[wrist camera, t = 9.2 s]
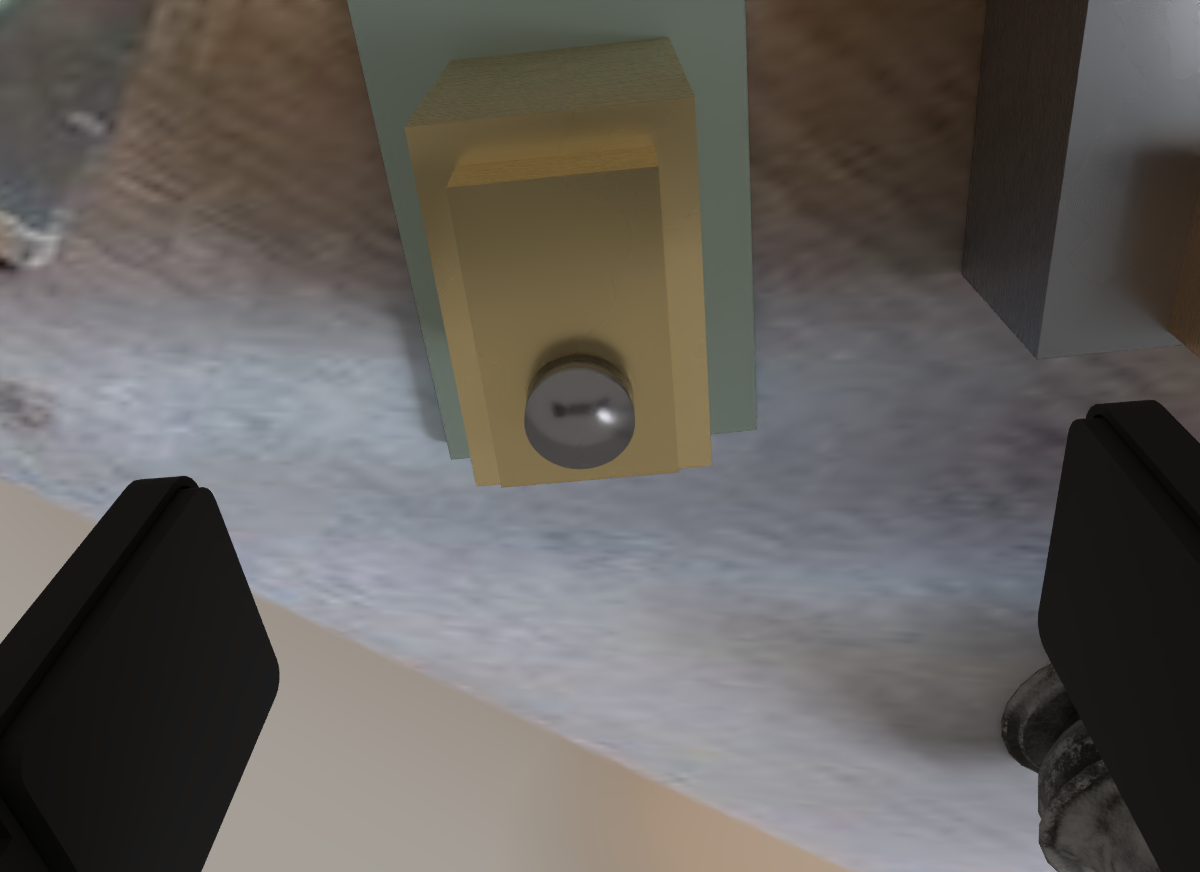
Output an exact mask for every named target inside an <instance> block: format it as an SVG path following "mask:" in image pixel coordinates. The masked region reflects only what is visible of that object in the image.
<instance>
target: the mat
mask: <svg viewBox="0 0 1200 872" xmlns="http://www.w3.org/2000/svg"><path fill="white" fill-rule="evenodd" d="M347 4H348V8H349V12H350V17H351V21H352V26H353V30H354V34H355V39H356V43H357V48H358V52H359V56H360V61H361V65H362V70H363V74H364V78H365V83H366V87H367V92H368V96H369V100H370V105H371V109H372V114H373V118H374V123H375V127H376V131H377V136H378V140H379V145H380V149H381V153H382V158H383V162H384V167H385V171H386V175H387V180H388V184H389V189H390V193H391V197H392V202H393V206H394V211H395V215H396V219H397V224H398V228H399V233H400V237H401V242H402V246H403V250H404V255H405V259H406V264H407V268H408V272H409V277H410V281H411V286H412V290H413V294H414V299H415V303H416V308H417V312H418V316H419V321H420V325H421V330H422V334H423V338H424V343H425V347H426V352H427V356H428V360H429V365H430V369H431V374H432V378H433V383H434V387H435V391H436V396H437V400H438V405H439V409H440V413H441V418H442V422H443V427H444V431H445V435H446V440H447V444H448V449H449V453H450V457H451V460H452V459H462V458H471V456H470V451H469V446H468V441H467V437H466V432H465V427H464V422H463V417H462V412H461V407H460V402H459V397H458V392H457V387H456V382H455V377H454V372H453V367H452V362H451V357H450V352H449V347H448V342H447V337H446V332H445V327H444V322H443V317H442V312H441V307H440V302H439V298H438V293H437V288H436V283H435V278H434V273H433V268H432V263H431V258H430V253H429V248H428V243H427V238H426V233H425V228H424V223H423V218H422V213H421V208H420V203H419V198H418V193H417V188H416V183H415V178H414V173H413V168H412V163H411V159H410V154H409V149H408V144H407V139H406V134H405V129H404V127H405V126H406V124H407V123H408V121H409V120H410V118H411V117H412V115H413V114H414V112H415V111H416V109H417V108H418V106H419V105H420V104H421V102H422V101H423V99H424V98H425V96H426V95H427V93H428V92H429V90H430V89H431V87H432V86H433V84H434V83H435V82H436V80H437V79H438V77H439V76H440V74H441V73H442V71H443V70H444V68H445V67H446V65H447V64H448V62H449V61H450V60H458V59H467V58H477V57H486V56H495V55H505V54H514V53H523V52H533V51H542V50H551V49H561V48H570V47H579V46H589V45H598V44H607V43H617V42H626V41H635V40H645V39H654V38H663V37H669V38H670V40H671V42H672V45H673V47H674V49H675V52H676V54H677V56H678V59H679V61H680V63H681V66H682V68H683V70H684V72H685V75H686V77H687V79H688V82H689V84H690V86H691V89H692V91H693V93H694V96H695V105H696V127H697V149H698V172H699V194H700V216H701V238H702V260H703V282H704V305H705V327H706V349H707V371H708V393H709V415H710V434H719V433H729V432H740V431H750V430H757V416H756V379H755V343H754V306H753V270H752V234H751V197H750V161H749V124H748V88H747V51H746V15H745V0H347Z"/></svg>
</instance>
